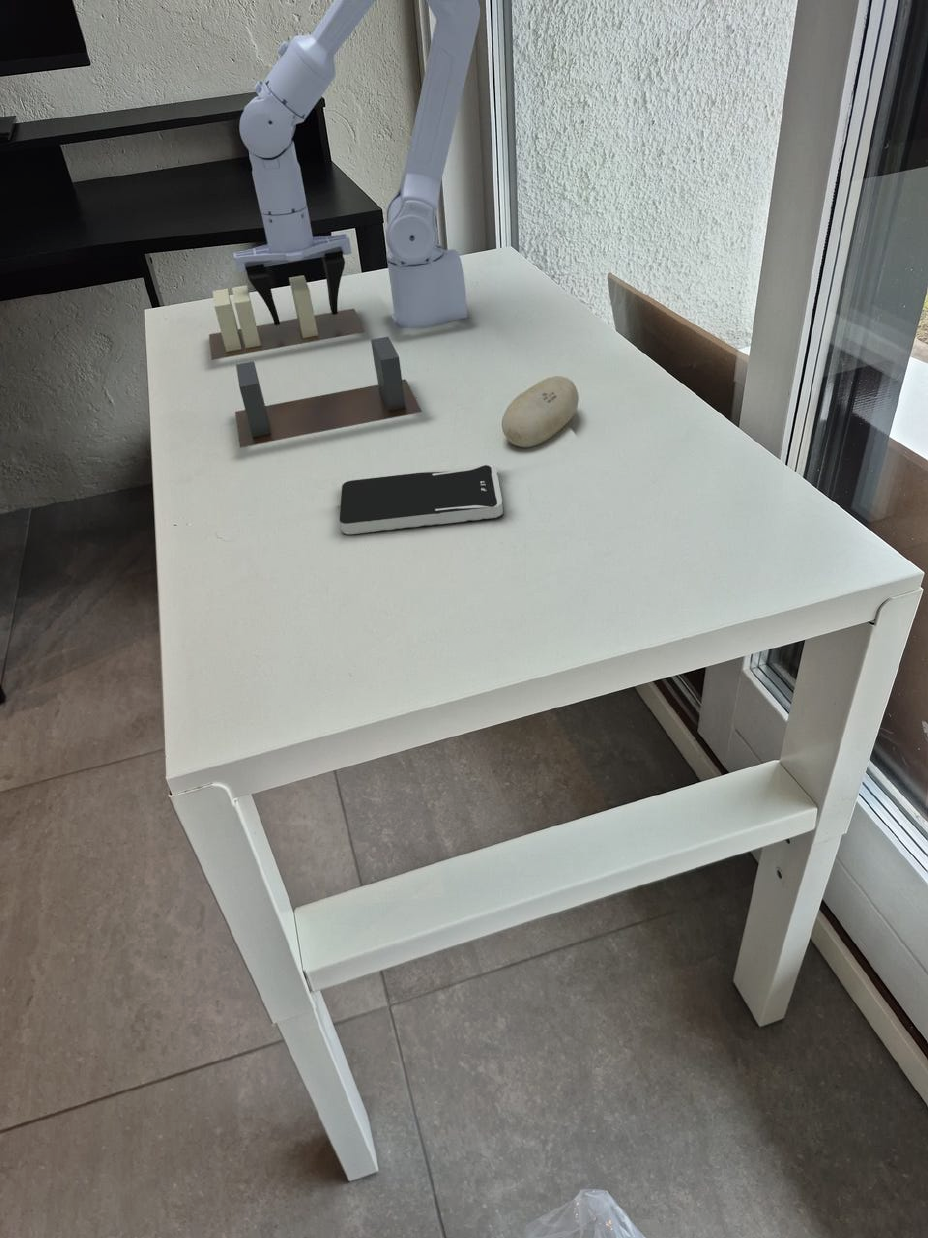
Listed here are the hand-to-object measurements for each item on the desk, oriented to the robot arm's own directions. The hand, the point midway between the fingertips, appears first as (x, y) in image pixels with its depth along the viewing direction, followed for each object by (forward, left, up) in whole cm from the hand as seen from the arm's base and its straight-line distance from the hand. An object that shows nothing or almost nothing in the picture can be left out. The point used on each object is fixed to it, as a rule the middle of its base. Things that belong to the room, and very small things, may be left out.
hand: (305, 317), depth 119 cm
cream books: (+9, 0, -2) cm, 9 cm away
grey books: (+1, +25, -2) cm, 26 cm away
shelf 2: (+1, +25, -3) cm, 26 cm away
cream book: (0, 0, -2) cm, 2 cm away
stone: (-20, +38, -3) cm, 43 cm away
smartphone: (-5, +47, -3) cm, 47 cm away
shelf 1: (+3, 0, -3) cm, 4 cm away
